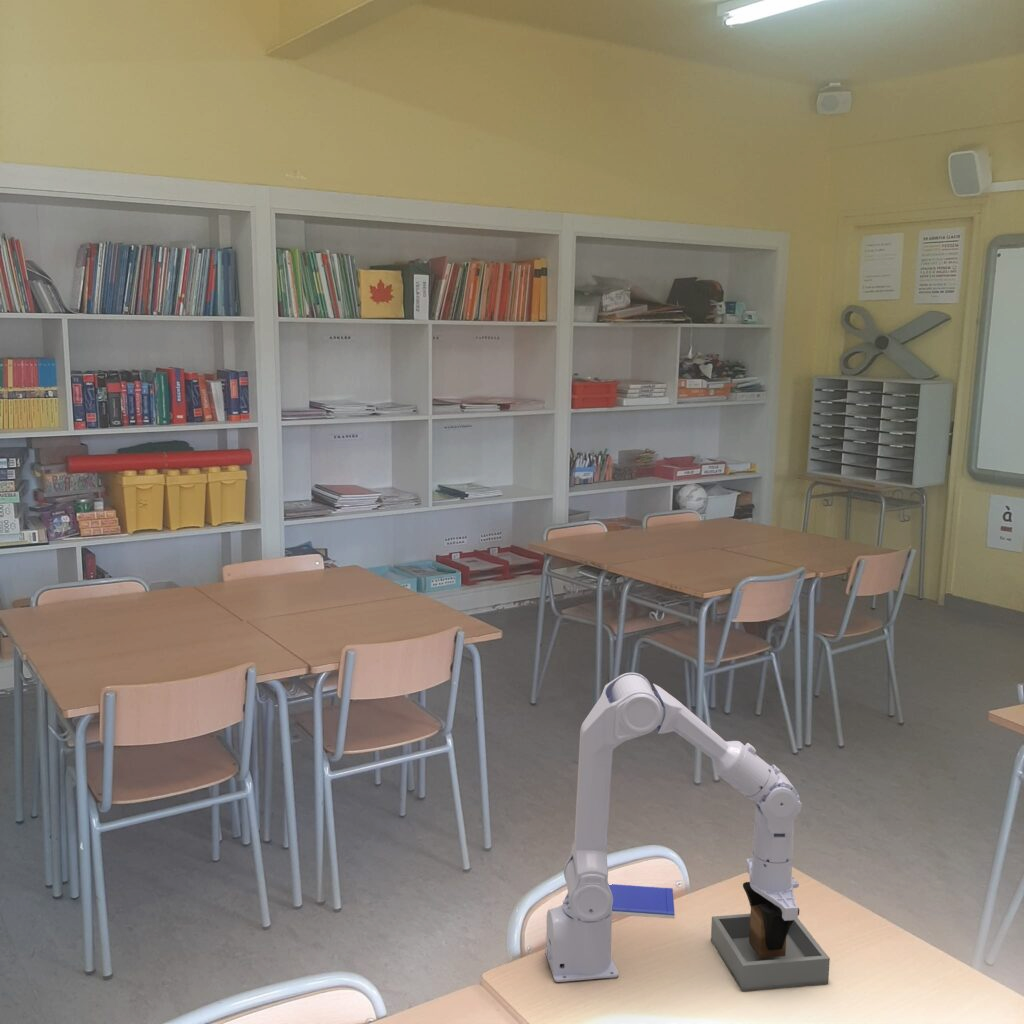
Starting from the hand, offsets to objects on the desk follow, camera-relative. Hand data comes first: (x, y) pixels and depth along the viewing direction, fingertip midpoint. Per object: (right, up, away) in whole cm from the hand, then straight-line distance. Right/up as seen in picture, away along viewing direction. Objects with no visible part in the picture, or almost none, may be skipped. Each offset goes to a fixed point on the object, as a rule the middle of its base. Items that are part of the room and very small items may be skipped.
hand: (768, 939), depth 151 cm
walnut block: (0, -2, 0) cm, 2 cm away
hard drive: (-18, -2, +17) cm, 25 cm away
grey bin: (0, -3, 0) cm, 3 cm away
